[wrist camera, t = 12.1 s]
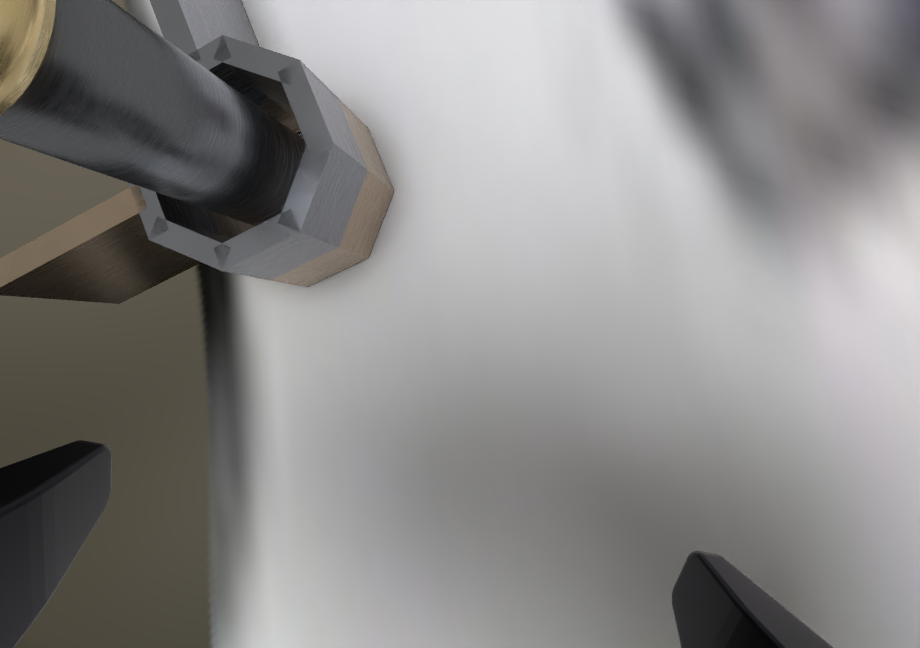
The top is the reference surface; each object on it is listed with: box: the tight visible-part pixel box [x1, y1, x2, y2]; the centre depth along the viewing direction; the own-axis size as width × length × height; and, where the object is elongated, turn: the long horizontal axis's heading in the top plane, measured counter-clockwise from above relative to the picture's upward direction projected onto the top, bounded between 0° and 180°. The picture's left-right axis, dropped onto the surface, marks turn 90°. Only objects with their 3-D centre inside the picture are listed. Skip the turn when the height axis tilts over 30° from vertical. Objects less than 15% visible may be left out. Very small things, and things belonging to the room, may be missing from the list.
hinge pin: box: [0, 0, 307, 226], centre depth 14 cm, size 4×4×12 cm
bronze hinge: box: [0, 0, 394, 304], centre depth 19 cm, size 12×12×5 cm
